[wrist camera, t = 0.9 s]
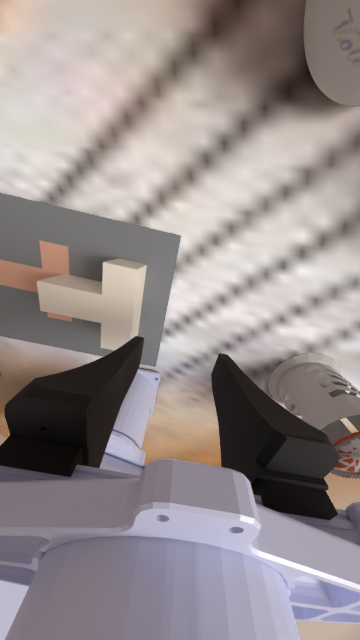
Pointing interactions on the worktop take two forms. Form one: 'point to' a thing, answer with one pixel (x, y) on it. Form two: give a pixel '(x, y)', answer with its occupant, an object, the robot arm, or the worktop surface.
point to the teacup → (334, 48)
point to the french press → (321, 403)
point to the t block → (100, 299)
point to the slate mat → (76, 272)
